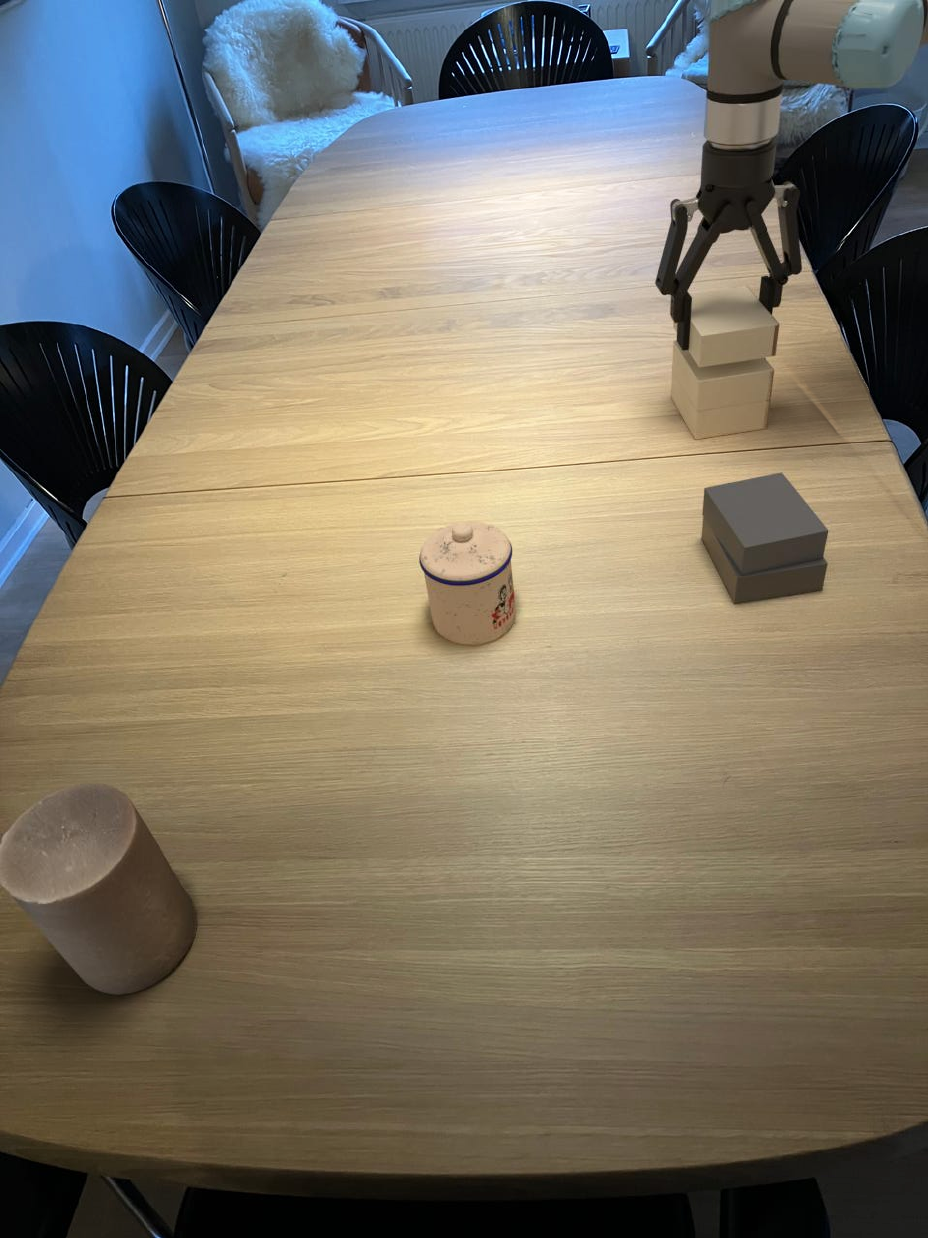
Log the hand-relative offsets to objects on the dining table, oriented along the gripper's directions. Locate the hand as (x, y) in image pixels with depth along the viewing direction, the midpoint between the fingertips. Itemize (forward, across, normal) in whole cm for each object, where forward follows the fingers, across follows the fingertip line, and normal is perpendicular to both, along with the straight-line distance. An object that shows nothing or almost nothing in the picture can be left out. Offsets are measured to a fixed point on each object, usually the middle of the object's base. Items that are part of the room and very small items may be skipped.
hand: (722, 338), depth 112 cm
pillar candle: (+10, +66, +62) cm, 91 cm away
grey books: (+10, +5, +30) cm, 32 cm away
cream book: (0, 0, 0) cm, 0 cm away
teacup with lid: (+10, +35, +30) cm, 47 cm away
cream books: (+10, 0, 0) cm, 10 cm away
